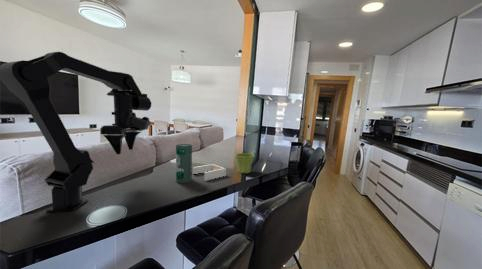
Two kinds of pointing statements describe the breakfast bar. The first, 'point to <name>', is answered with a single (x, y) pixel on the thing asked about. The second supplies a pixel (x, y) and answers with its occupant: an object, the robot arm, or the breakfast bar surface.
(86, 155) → the robot arm
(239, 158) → the plant pot
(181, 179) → the can
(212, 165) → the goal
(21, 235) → the breakfast bar surface
